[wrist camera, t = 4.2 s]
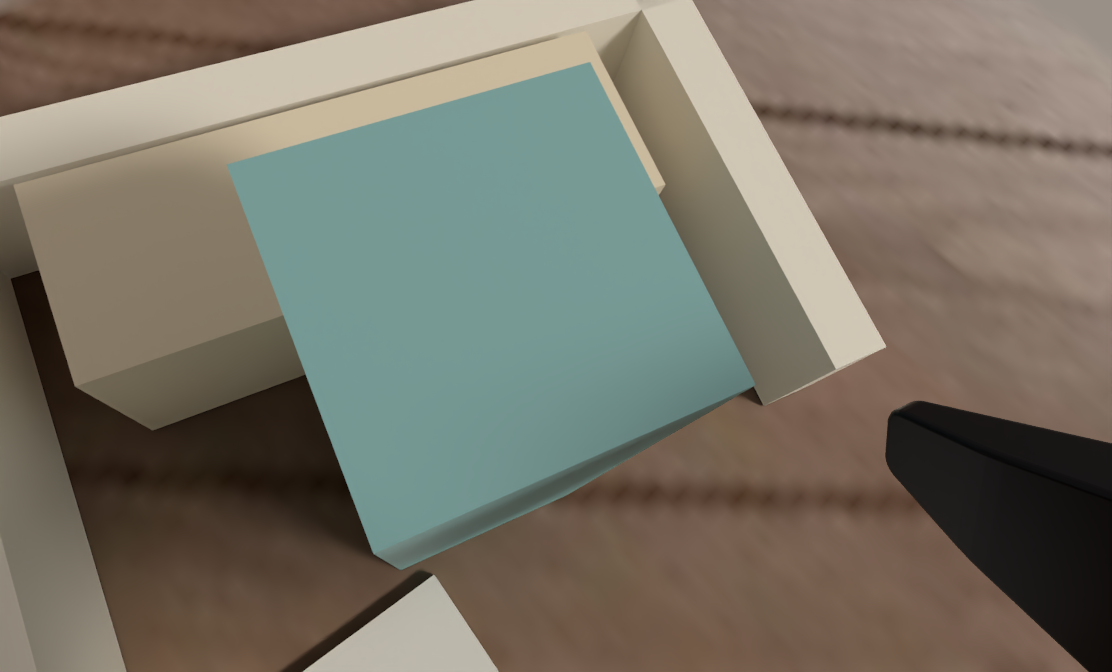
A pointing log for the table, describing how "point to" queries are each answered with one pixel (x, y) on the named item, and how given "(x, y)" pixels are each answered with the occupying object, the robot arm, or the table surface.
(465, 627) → the felt mat
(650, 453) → the table surface
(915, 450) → the robot arm
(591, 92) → the teal blank
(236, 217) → the cubby
